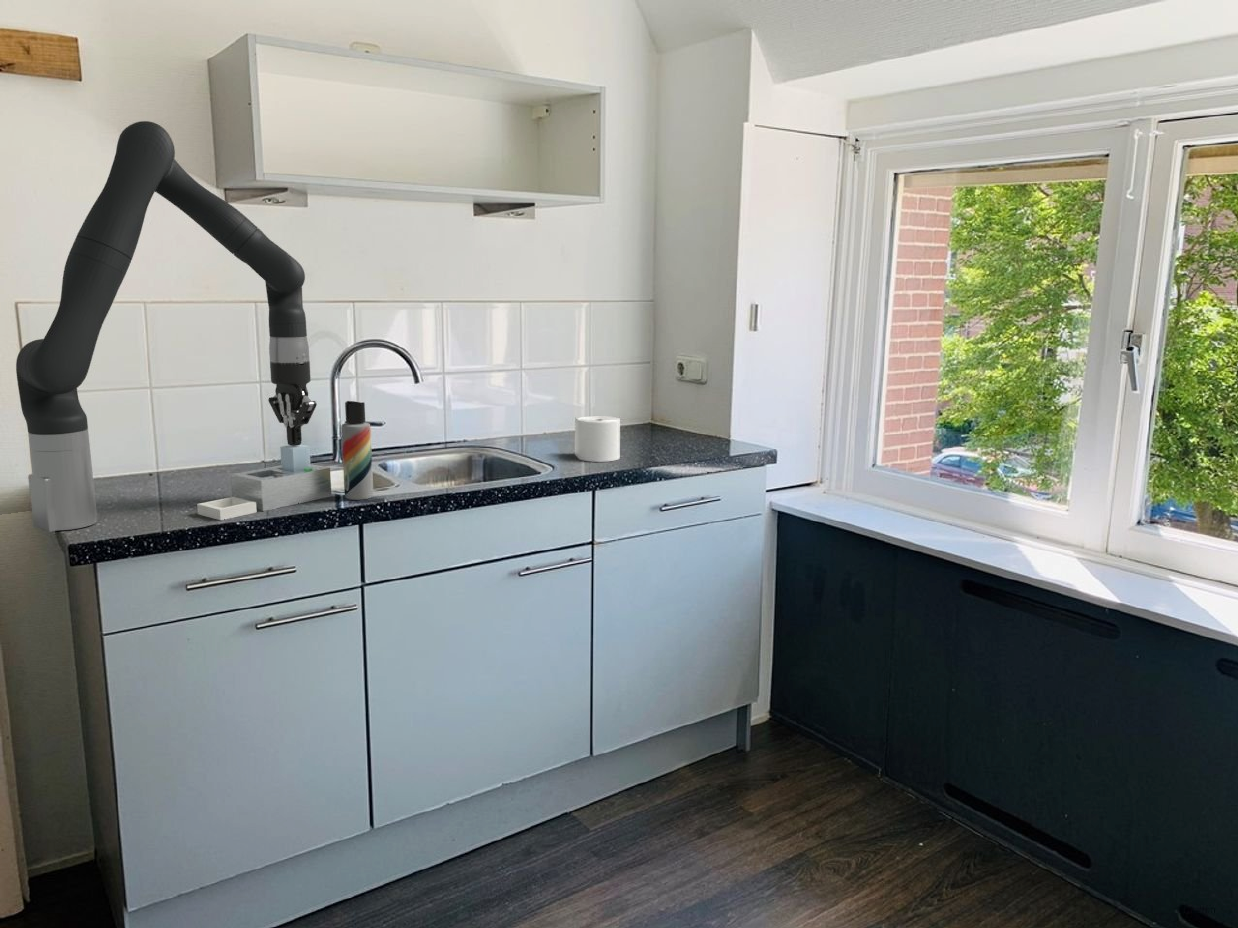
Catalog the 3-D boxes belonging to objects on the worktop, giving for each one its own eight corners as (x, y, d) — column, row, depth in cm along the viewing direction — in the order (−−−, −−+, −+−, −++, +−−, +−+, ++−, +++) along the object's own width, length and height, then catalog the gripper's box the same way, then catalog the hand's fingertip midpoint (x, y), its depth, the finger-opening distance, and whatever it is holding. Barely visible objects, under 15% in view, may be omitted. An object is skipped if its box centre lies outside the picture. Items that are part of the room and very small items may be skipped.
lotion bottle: (338, 497, 194) (333, 400, 190) (359, 492, 198) (355, 397, 194) (358, 501, 191) (354, 402, 187) (379, 496, 195) (375, 399, 191)
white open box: (220, 520, 175) (219, 509, 175) (197, 514, 179) (197, 504, 179) (256, 512, 181) (255, 502, 181) (233, 506, 185) (233, 496, 185)
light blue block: (295, 492, 191) (292, 448, 189) (283, 490, 193) (280, 446, 192) (311, 489, 194) (309, 446, 193) (299, 486, 197) (297, 444, 195)
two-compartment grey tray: (263, 511, 182) (261, 478, 181) (232, 503, 188) (230, 472, 186) (331, 496, 195) (329, 465, 194) (301, 489, 201) (299, 460, 199)
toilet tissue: (617, 463, 232) (617, 422, 231) (568, 461, 234) (568, 421, 232) (622, 455, 243) (622, 416, 241) (576, 453, 244) (576, 415, 242)
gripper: (253, 358, 189) (258, 444, 193) (294, 362, 182) (299, 451, 185) (285, 356, 195) (290, 439, 199) (326, 360, 188) (330, 446, 191)
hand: (294, 445), depth 192 cm, fingers closed
